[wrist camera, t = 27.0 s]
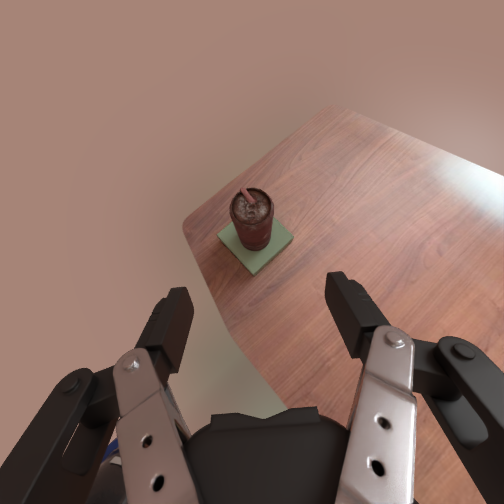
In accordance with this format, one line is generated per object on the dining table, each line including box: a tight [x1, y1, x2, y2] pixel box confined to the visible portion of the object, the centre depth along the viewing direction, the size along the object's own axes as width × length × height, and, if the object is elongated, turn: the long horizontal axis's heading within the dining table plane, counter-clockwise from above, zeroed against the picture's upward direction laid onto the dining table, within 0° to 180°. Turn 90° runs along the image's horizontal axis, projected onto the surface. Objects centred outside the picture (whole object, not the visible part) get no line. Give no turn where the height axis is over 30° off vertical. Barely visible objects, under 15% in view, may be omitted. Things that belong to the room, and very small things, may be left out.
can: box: [230, 188, 274, 251], centre depth 33 cm, size 6×6×14 cm
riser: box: [217, 217, 294, 276], centre depth 42 cm, size 11×11×4 cm
